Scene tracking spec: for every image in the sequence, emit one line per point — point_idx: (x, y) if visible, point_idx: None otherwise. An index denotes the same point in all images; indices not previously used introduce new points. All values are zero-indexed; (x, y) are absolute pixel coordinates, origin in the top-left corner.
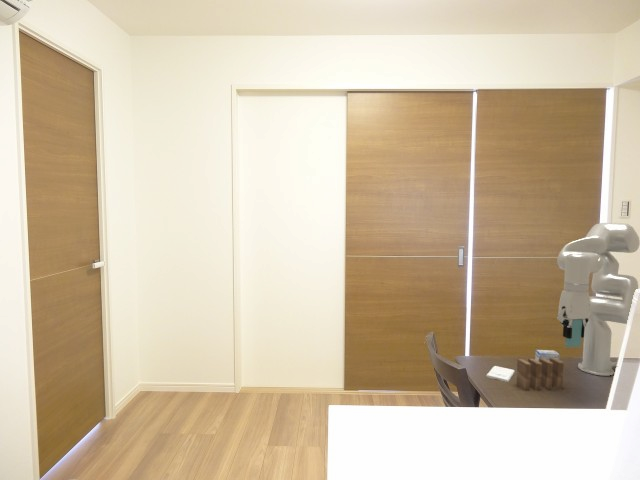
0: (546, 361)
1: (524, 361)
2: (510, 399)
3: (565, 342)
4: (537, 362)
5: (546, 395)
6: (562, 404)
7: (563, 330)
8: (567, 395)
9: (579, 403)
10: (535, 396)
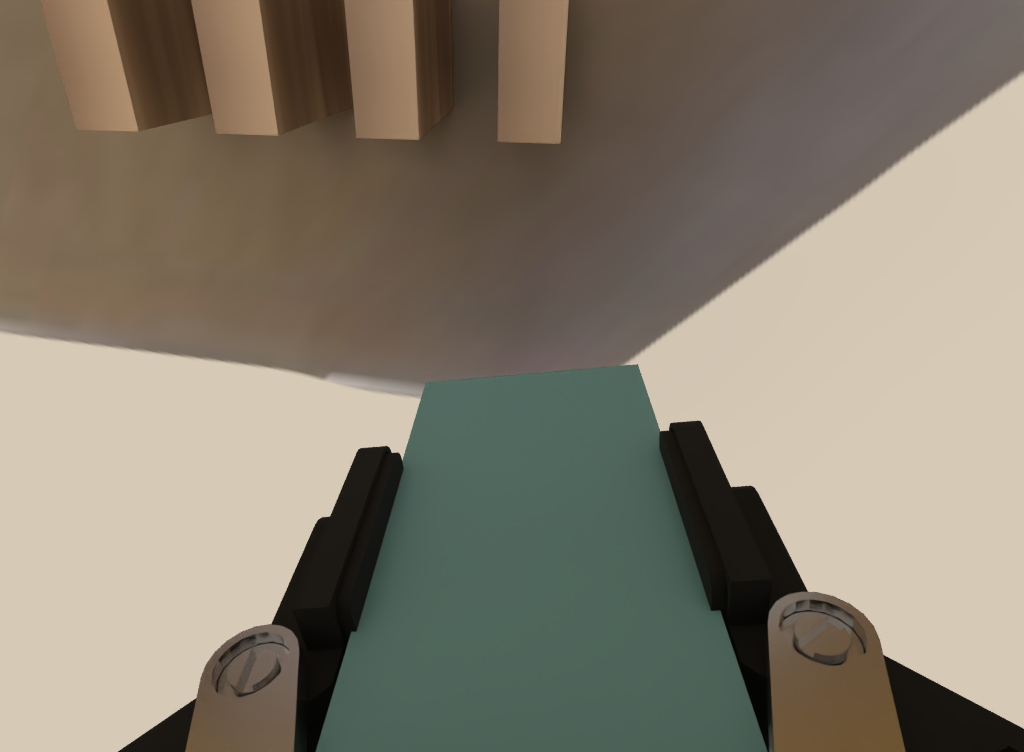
0: (371, 82)
1: (90, 41)
2: (47, 236)
3: (418, 410)
4: (241, 99)
5: (338, 215)
6: (366, 344)
7: (331, 526)
8: (493, 236)
9: (484, 347)
10: (247, 218)
